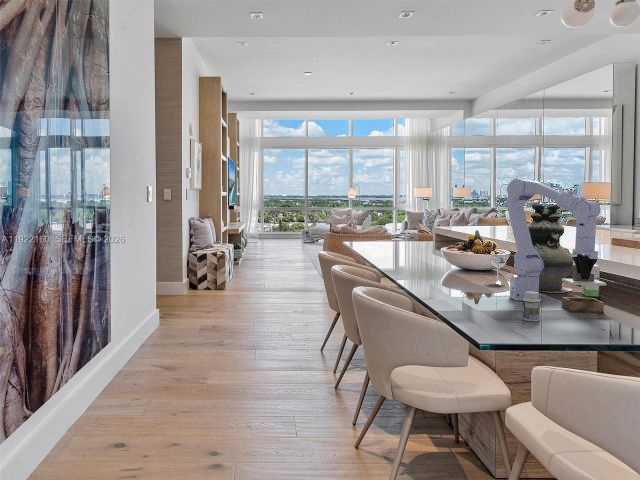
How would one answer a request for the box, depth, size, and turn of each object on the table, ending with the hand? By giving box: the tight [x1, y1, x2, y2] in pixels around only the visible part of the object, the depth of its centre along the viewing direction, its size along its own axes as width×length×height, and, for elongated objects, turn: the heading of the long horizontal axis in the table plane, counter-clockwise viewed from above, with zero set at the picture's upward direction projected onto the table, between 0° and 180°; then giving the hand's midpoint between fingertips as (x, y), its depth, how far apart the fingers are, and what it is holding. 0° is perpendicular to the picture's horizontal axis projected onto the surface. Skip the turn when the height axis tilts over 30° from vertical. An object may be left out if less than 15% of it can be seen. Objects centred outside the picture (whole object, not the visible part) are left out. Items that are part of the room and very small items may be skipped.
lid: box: [562, 272, 607, 287], centre depth 165 cm, size 11×9×3 cm
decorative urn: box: [527, 204, 574, 294], centre depth 205 cm, size 21×21×35 cm
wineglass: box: [490, 254, 508, 285], centre depth 223 cm, size 7×7×12 cm
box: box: [561, 296, 605, 314], centre depth 165 cm, size 10×8×3 cm
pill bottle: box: [522, 291, 541, 322], centre depth 150 cm, size 5×5×8 cm
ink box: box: [580, 263, 601, 297], centre depth 194 cm, size 9×5×12 cm, turn 162°
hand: (583, 278), depth 165 cm, fingers closed on lid, 2 cm apart
